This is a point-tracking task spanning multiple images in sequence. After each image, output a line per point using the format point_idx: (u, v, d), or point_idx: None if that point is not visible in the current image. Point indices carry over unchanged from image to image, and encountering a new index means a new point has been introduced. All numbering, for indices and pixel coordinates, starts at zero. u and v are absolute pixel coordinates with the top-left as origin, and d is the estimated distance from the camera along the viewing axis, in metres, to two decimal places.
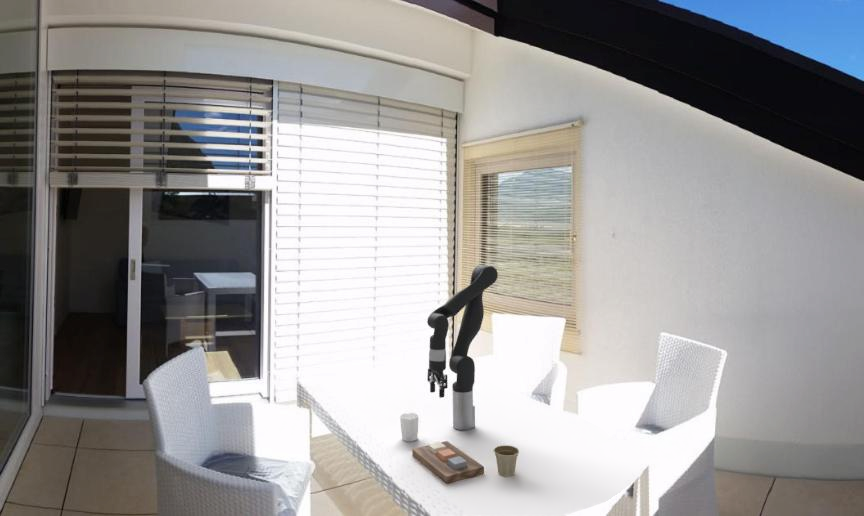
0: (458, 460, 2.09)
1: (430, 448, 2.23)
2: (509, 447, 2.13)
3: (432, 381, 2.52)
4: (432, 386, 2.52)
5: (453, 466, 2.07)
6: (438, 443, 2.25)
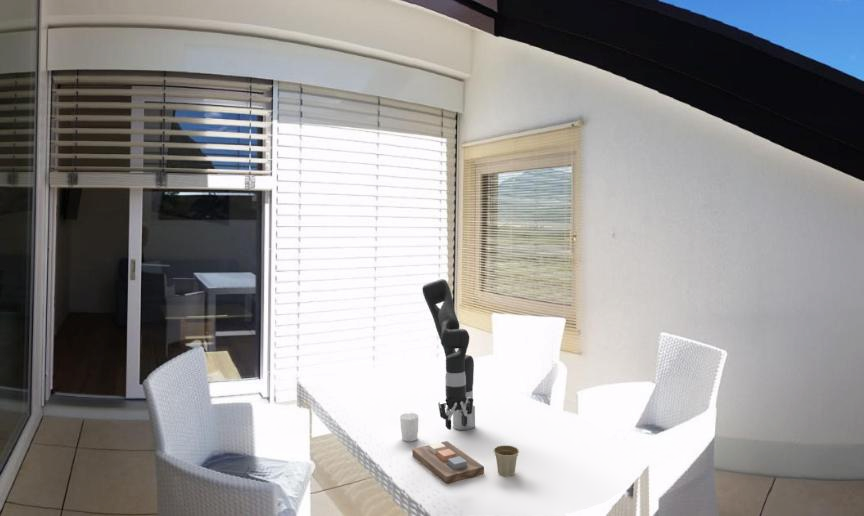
0: (458, 460, 2.09)
1: (430, 448, 2.23)
2: (509, 447, 2.13)
3: None
4: None
5: (453, 466, 2.07)
6: (438, 443, 2.25)
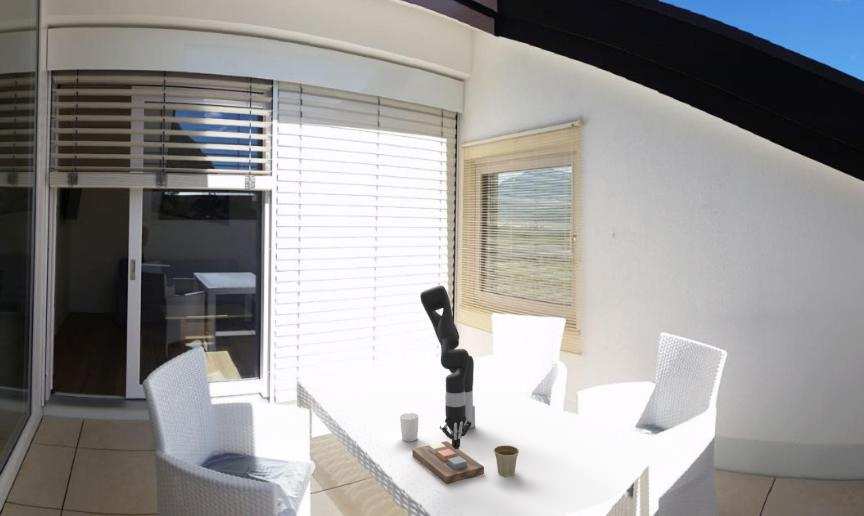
0: (458, 460, 2.09)
1: (430, 448, 2.23)
2: (509, 447, 2.13)
3: None
4: None
5: (453, 466, 2.07)
6: (438, 443, 2.25)
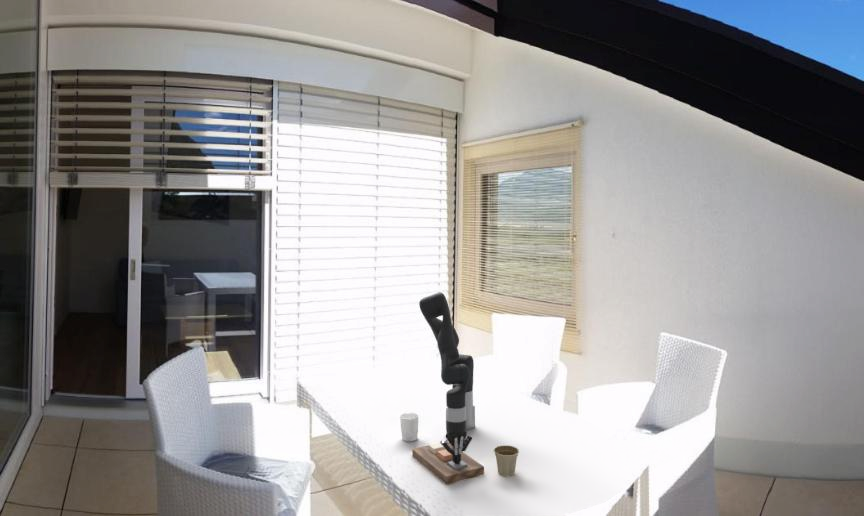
0: None
1: (430, 448, 2.23)
2: (509, 447, 2.13)
3: None
4: None
5: (453, 469, 2.07)
6: (438, 443, 2.25)
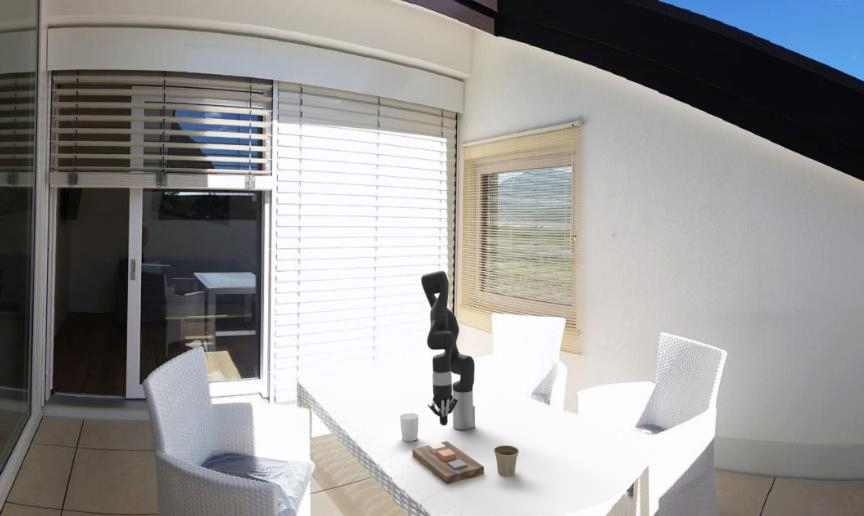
0: (458, 463, 2.09)
1: (430, 448, 2.23)
2: (509, 447, 2.13)
3: None
4: None
5: None
6: (438, 443, 2.25)
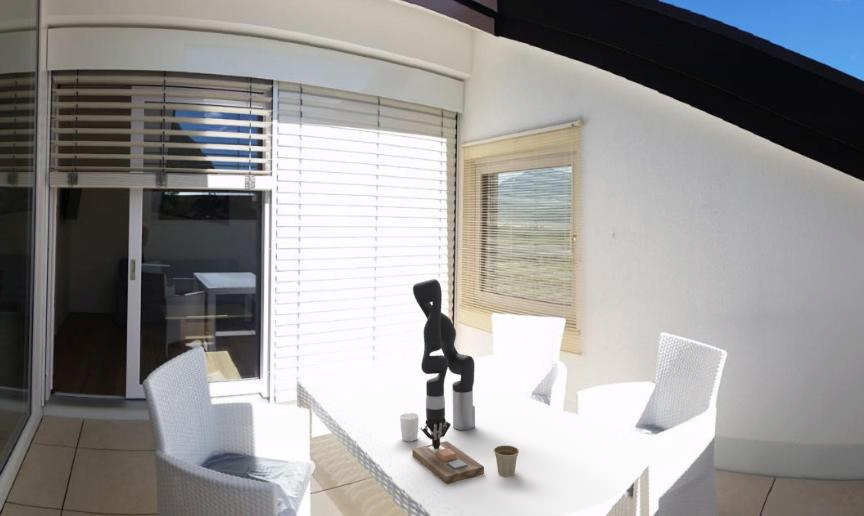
0: (458, 463, 2.09)
1: (431, 451, 2.23)
2: (509, 447, 2.13)
3: None
4: None
5: None
6: None
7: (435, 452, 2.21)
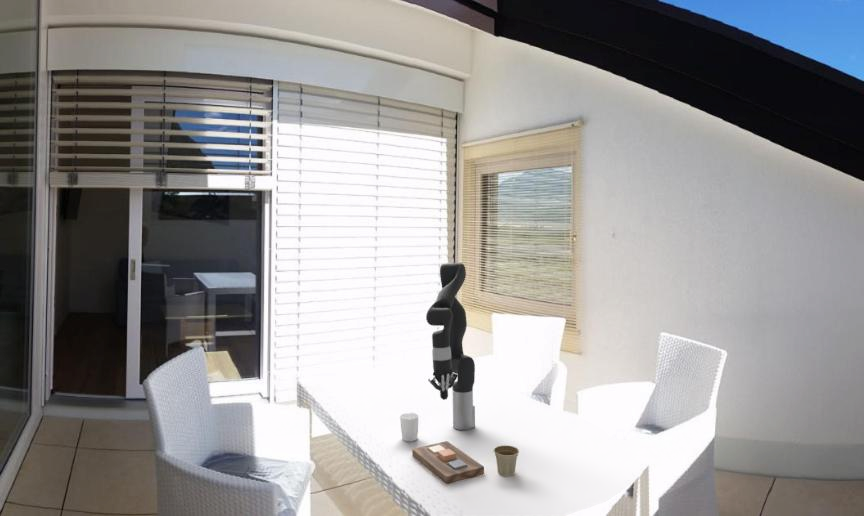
0: (458, 463, 2.09)
1: (431, 452, 2.23)
2: (509, 447, 2.13)
3: None
4: None
5: None
6: (438, 446, 2.26)
7: (435, 452, 2.21)
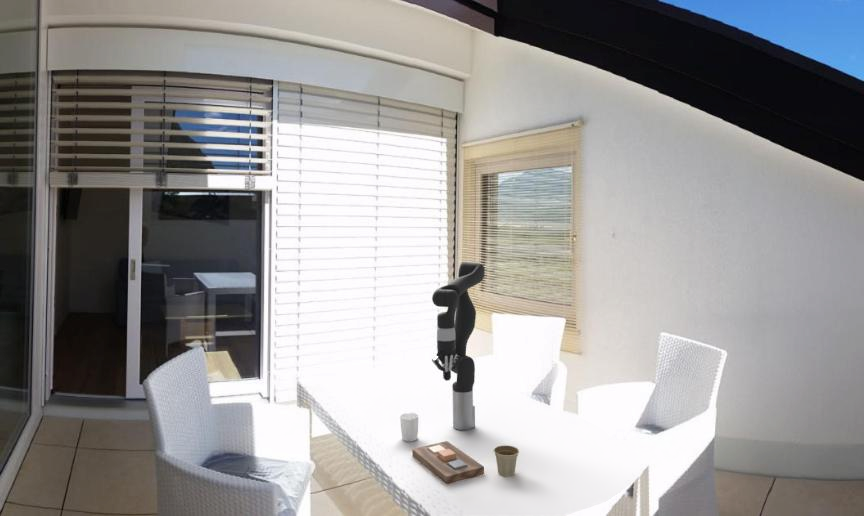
0: (458, 463, 2.09)
1: (431, 452, 2.23)
2: (509, 447, 2.13)
3: None
4: None
5: None
6: (438, 446, 2.26)
7: (435, 452, 2.21)
